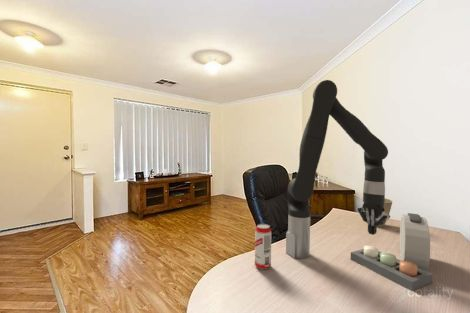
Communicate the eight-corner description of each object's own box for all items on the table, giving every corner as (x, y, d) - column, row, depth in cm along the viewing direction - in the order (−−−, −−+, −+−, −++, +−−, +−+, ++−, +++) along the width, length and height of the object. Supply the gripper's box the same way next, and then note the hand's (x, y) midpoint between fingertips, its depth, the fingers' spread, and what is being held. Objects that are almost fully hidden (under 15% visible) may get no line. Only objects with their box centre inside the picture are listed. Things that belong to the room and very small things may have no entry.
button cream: (372, 262, 90) (372, 251, 90) (360, 257, 95) (361, 246, 94) (380, 260, 92) (380, 249, 92) (368, 255, 97) (369, 244, 97)
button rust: (411, 281, 77) (412, 268, 77) (396, 274, 82) (396, 261, 82) (420, 278, 79) (420, 265, 79) (404, 271, 84) (405, 259, 84)
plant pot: (359, 224, 139) (359, 199, 139) (367, 219, 150) (368, 195, 149) (387, 231, 128) (388, 203, 128) (394, 225, 139) (395, 199, 138)
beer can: (260, 272, 85) (261, 229, 84) (251, 264, 90) (252, 224, 90) (274, 268, 87) (274, 227, 87) (264, 260, 93) (265, 222, 92)
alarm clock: (429, 276, 83) (431, 223, 82) (403, 270, 86) (405, 219, 86) (419, 254, 101) (421, 210, 100) (399, 250, 105) (400, 207, 104)
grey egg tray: (411, 291, 74) (412, 282, 74) (350, 259, 95) (350, 252, 95) (432, 282, 79) (432, 274, 79) (369, 254, 100) (369, 247, 100)
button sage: (390, 271, 84) (390, 259, 84) (377, 265, 88) (377, 253, 88) (398, 268, 86) (399, 257, 86) (385, 262, 90) (385, 251, 90)
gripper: (353, 189, 97) (351, 229, 98) (384, 195, 85) (382, 241, 85) (365, 188, 100) (363, 227, 101) (396, 194, 88) (394, 238, 88)
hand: (372, 233), depth 93 cm, fingers closed
